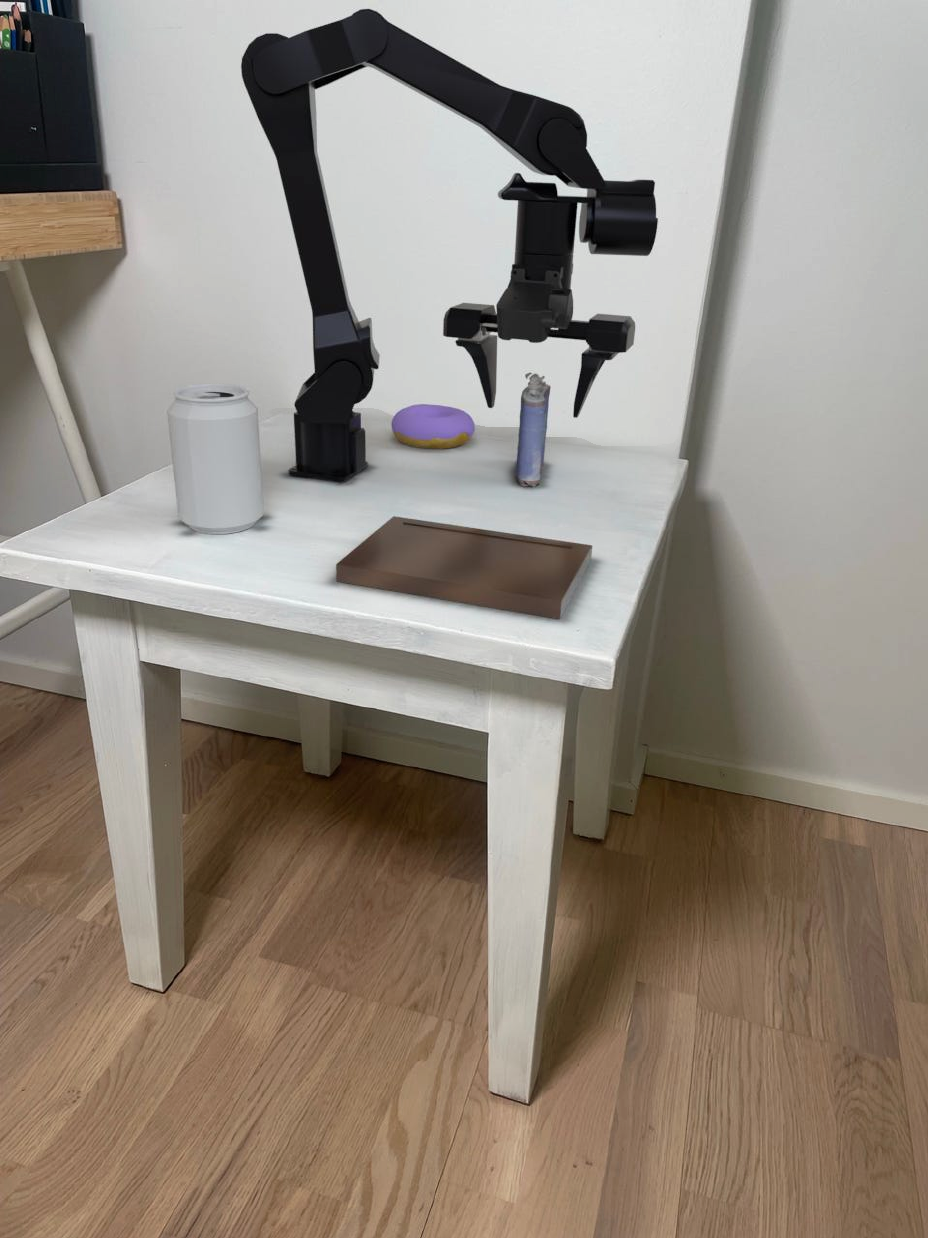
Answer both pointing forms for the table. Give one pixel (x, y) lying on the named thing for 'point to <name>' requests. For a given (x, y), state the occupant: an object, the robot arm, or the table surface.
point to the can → (216, 458)
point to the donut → (432, 426)
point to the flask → (532, 430)
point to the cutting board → (469, 566)
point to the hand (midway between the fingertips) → (532, 411)
